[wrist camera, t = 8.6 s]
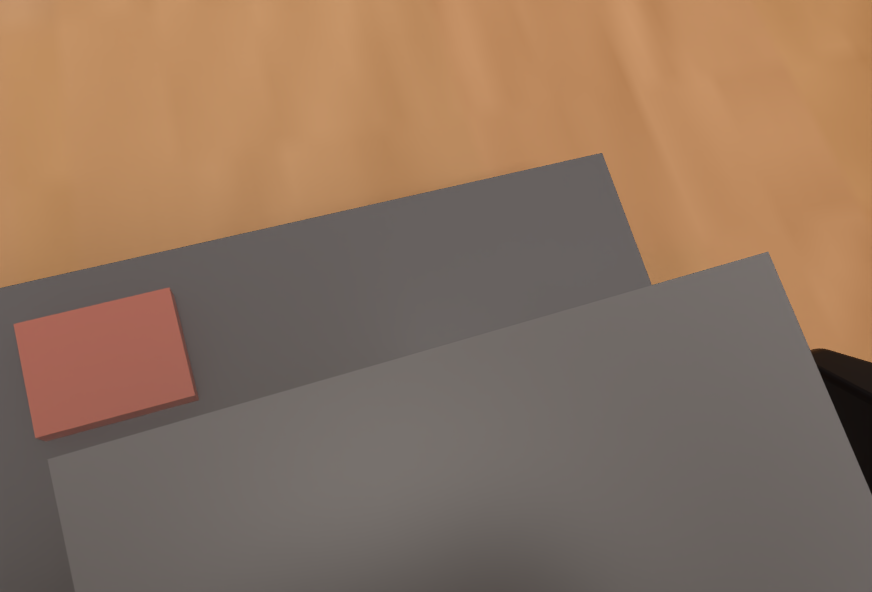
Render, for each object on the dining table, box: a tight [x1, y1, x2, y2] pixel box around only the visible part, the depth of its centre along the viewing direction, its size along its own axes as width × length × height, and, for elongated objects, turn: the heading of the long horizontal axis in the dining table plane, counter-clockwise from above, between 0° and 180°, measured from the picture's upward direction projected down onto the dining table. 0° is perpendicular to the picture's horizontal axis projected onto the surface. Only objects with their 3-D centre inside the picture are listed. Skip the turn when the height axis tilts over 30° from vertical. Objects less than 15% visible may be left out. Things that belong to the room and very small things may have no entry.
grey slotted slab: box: [0, 153, 651, 592], centre depth 15 cm, size 14×14×4 cm
